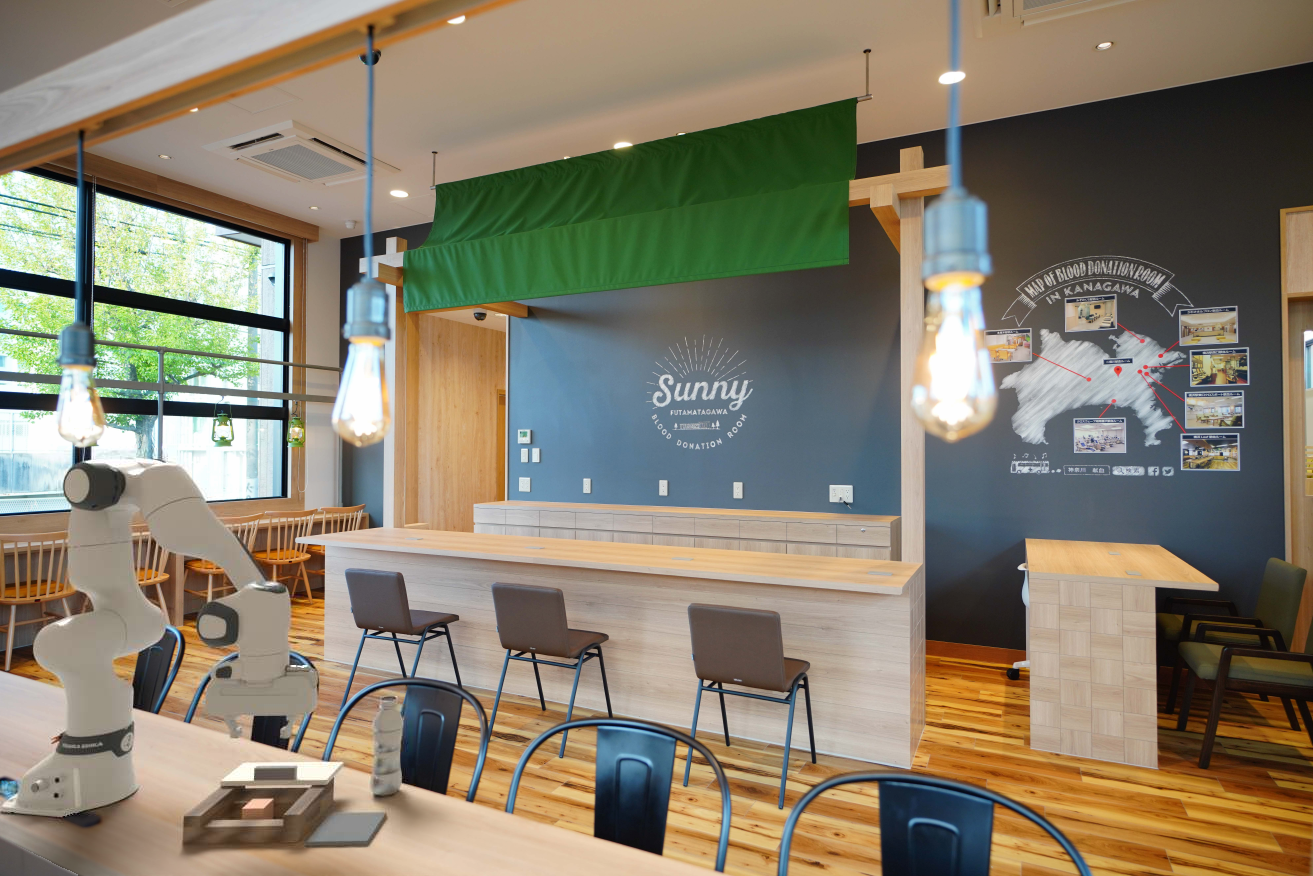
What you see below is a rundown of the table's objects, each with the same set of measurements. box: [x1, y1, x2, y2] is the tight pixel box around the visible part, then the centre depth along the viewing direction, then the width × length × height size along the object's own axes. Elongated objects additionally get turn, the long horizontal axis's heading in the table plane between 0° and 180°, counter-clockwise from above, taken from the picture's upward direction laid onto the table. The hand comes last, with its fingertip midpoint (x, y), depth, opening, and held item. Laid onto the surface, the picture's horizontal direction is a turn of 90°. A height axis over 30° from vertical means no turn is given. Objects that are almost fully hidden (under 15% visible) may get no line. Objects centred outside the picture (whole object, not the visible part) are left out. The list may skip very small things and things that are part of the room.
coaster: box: [306, 811, 388, 847], centre depth 136 cm, size 11×11×1 cm
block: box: [241, 799, 274, 820], centre depth 137 cm, size 4×4×4 cm
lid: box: [219, 761, 345, 787], centre depth 147 cm, size 21×9×3 cm, turn 93°
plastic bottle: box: [369, 695, 404, 797], centre depth 152 cm, size 6×7×20 cm
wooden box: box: [182, 777, 335, 845], centre depth 139 cm, size 21×16×5 cm
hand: (261, 737), depth 137 cm, fingers open, 8 cm apart
